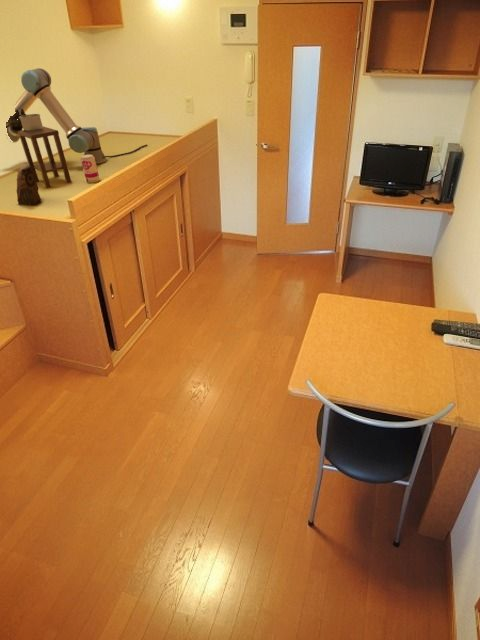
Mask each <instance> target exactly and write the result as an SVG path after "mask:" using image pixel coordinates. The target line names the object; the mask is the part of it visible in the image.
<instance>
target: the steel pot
mask: <svg viewBox="0 0 480 640" xmlns="http://www.w3.org/2000/svg"><path fill="white" fill-rule="evenodd" d="M19 118H20V120H21V123H22V126H23V129H22V130H37V129H41V128H43V123H42V119H41V114H40V113H30V114H28V113H27V114H26V115H24V114H21V113H20V115H19Z"/></svg>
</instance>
